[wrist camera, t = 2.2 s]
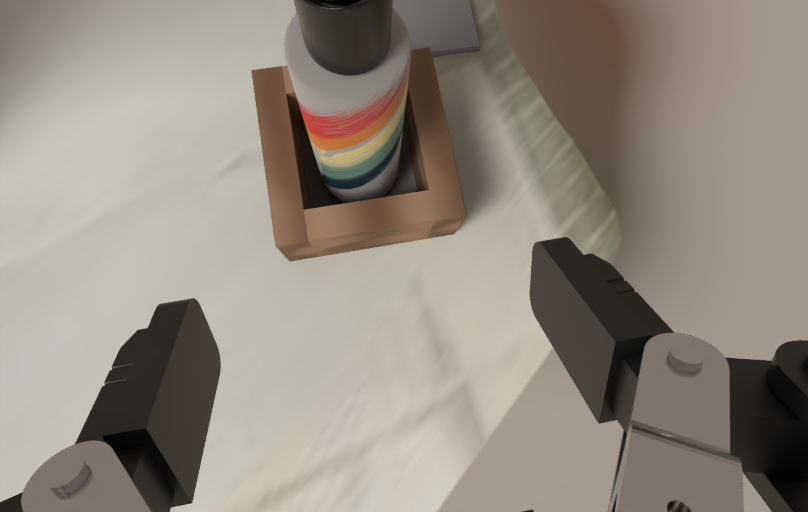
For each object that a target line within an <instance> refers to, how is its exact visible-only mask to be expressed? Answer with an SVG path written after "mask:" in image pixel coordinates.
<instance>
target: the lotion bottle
mask: <svg viewBox="0 0 808 512" xmlns="http://www.w3.org/2000/svg"><path fill="white" fill-rule="evenodd" d="M294 3H295V7H296V14H295V15H294V16H293V18H292V20H291V21H290V23H289V26H288V28H287V31H286V36H285V58H286V62H287V66H288V70H289V73H290V77H291V80H292V84H293V87H294V90H295V93H296V97H297V100H298V103H299V106H300V109H301V113H302V116H303V119H304V122H305V126H306V129H307V132H308V135H309V139H310V142H311V145H312V148H313V151H314V155H315V158H316V161H317V164H318V168H319V171H320V174H321V176H322V179H323V181H324V183H325V185H326V187H327V188H328V190H329V191H330V192H331V193H332V194H333V195H334V196H335V197H337V198H338V199H340V200H342V201H344V202H346V203H350V202H357V201H363V200H369V199H376V198H382V197H383V196H384V195H386V194H387V193H388V191H389V190H390V189H391V187H392V186H393V184H394V182H395V179H396V176H397V171H398V164H399V156H400V148H401V139H402V131H403V122H404V114H405V105H406V97H407V88H408V79H409V70H410V60H411V43H410V37H409V33H408V30H407V27H406V25H405V23H404V21H403V19H402V18H401V17H400V15H399V14H398V13H397V12H396V10H395V9H394V8H393V0H294Z"/></svg>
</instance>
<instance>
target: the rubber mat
mask: <svg viewBox="0 0 808 512" xmlns="http://www.w3.org/2000/svg"><path fill="white" fill-rule="evenodd" d="M393 8H394V9H395V10H396V12H397V13H398V14H399V15H400V17H401V18H402V19H403V21H404V23H405V25H406V27H407V30H408V33H409V37H410V43H411V49H419V48H426V47H430V49H431V54H432V56H439V55H446V54H454V53H461V52H469V51H476V50H479V47H480V44H479V39H478V35H477V31H476V27H475V22H474V18H473V14H472V10H471V6H470V1H469V0H393Z"/></svg>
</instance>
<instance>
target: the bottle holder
mask: <svg viewBox="0 0 808 512" xmlns="http://www.w3.org/2000/svg"><path fill="white" fill-rule="evenodd" d="M252 78H253V85H254V92H255V100H256V107H257V114H258V122H259V129H260V136H261V144H262V151H263V158H264V166H265V173H266V180H267V188H268V195H269V202H270V210H271V217H272V224H273V232H274V239H275V246H276V247H277V248H278V249H279V250H280V251H281V253H282V254H283V255H284V256H285V257H286V258H287V259H288V260H289V261H295V260H301V259H307V258H313V257H319V256H325V255H331V254H337V253H343V252H349V251H355V250H361V249H367V248H373V247H379V246H385V245H391V244H397V243H403V242H409V241H415V240H421V239H427V238H433V237H439V236H445V235H451V234H454V233H455V231H456V230H457V228H458V227H459V225H460V224H461V222H462V221H463V219H464V217H465V216H466V212H465V207H464V203H463V198H462V193H461V189H460V184H459V179H458V175H457V170H456V165H455V161H454V156H453V151H452V147H451V142H450V137H449V133H448V128H447V124H446V119H445V114H444V110H443V105H442V100H441V96H440V91H439V86H438V82H437V77H436V72H435V68H434V63H433V59H432V54H431V49H430V47H426V48H419V49H411V60H410V70H409V79H408V88H407V97H406V105H405V114H404V124H405V129H406V134H407V139H408V144H409V149H410V154H411V159H412V164H413V169H414V175H415V180H416V185H417V190H418V192H414V193H407V194H401V195H395V196H388V197H382V198H376V199H369V200H363V201H357V202H350V203H344V204H337V205H331V206H325V207H318V208H312V209H310V202H309V196H308V189H307V183H306V176H305V169H304V163H303V156H302V150H301V143H300V137H299V130H298V129H299V128H306V126H305V122H304V119H303V116H302V113H301V109H300V106H299V103H298V100H297V97H296V93H295V90H294V87H293V84H292V80H291V77H290V73H289V70H288V66H281V67H273V68H265V69H258V70H252Z"/></svg>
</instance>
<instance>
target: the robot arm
mask: <svg viewBox="0 0 808 512" xmlns="http://www.w3.org/2000/svg"><path fill="white" fill-rule="evenodd" d="M530 301H531V306H532V310H533V313H534V315H535V317H536V319H537V321H538V322H539V324H540V326H541V327H542V329H543V331H544V332H545V334H546V336H547V338H548V339H549V341H550V343H551V344H552V346H553V348H554V349H555V351H556V353H557V354H558V356H559V358H560V359H561V361H562V363H563V365H564V366H565V368H566V370H567V371H568V373H569V375H570V376H571V378H572V379H573V381H574V383H575V385H576V386H577V388H578V390H579V391H580V393H581V395H582V397H583V398H584V400H585V401H586V403H587V405H588V407H589V408H590V410H591V412H592V413H593V415H594V417H595V418H596V420H597V422H598V423H603V422H609V421H614V420H618V422H619V423H620V425H621V426H622V428H623V434H622V438H621V443H620V448H619V453H618V459H617V464H616V469H615V474H614V479H613V484H612V489H611V495H610V500H609V505H608V511H607V512H744V510H743V509H744V508H743V473H744V474H745V476H746V477H747V478H748V480H749V481H750V482H751V484H752V485H753V486H754V488H755V489H756V490H757V492H758V493H759V494H760V496H761V497H762V499H763V500H764V501H765V503H766V504H767V506H768V507H769V508H770V510H771V511H772V512H808V341H802V340H799V341H791V342H787V343H784V344H782V345H781V346H780V347H779V348H778V349H777V351H776V353H775V355H774V357H773V359H772V361H766V360H751V359H736V358H725V357H724V356H723V354H721V352H720V351H719V350H717V349H716V348H715V347H714V346H712V345H711V344H709V343H707V342H706V341H704V340H701V339H699V338H696V337H694V336H690V335H686V334H681V333H674V332H673V331H672V330H671V329H670V328H669V327H668V325H667V324H666V323H665V322H664V321H663V320H662V319H661V318H660V317H659V316H658V315H657V313H656V312H655V311H654V310H653V309H652V308H651V307H650V306H649V305H648V304H647V303H646V301H644V299H643V298H642V297H641V296H640V295H639V294H638V293H637V292H634V289H633V288H632V286H631V285H630V284H629V283H628V282H627V281H624V278H623V277H622V276H621V274H620V273H619V272H618V271H617V270H616V269H615V268H614V267H613V266H612V265H611V264H610V263H608V262H606V261H604V260H603V259H601V258H599V257H597V256H595V255H593V254H586V255H583V254H582V253H581V251H580V250H579V249H578V248H577V247H576V246H575V245H574V243H573V242H572V241H571V240H570V239H569V238H567V237H564V238H558V239H552V240H546V241H540V242H536V243H535V244H534V246H533V251H532V266H531V281H530ZM220 368H221V364H220V354H219V350H218V347H217V344H216V342H215V339H214V337H213V335H212V332H211V330H210V328H209V325H208V323H207V321H206V318H205V316H204V313H203V311H202V309H201V306H200V304H199V303H198V301H197V300H196V299H194V298H193V299H187V300H181V301H175V302H169V303H163V304H159V305H158V306H157V308H156V310H155V312H154V315H153V317H152V319H151V322H150V324H149V326H148V328H147V329H141V330H137V331H136V332H135V333H134V335H133V336H132V337H131V338H130V339H129V340H128V341H127V342H126V343H125V344H124V345H123V346H122V347H121V348H120V350H119V352H118V354H117V357H116V359H115V361H114V363H113V365H112V370H110V371H109V373H108V376H107V378H106V380H105V386H102V388H101V390H100V392H99V395H98V397H97V399H96V401H95V403H94V405H93V407H92V409H91V412H90V414H89V416H88V418H87V420H86V422H85V424H84V426H83V428H82V431H81V433H80V435H79V437H78V439H77V441H76V443H75V445H72V446H70V447H68V448H66V449H64V450H62V451H60V452H58V453H57V454H55V455H54V456H53V457H51V458H50V459H49V460H47V461H46V462H45V463H44V464H43V465H42V466H41V467H40V468H39V469H38V470H37V471H36V472H35V473H34V474H33V475H32V477H31V478H30V480H29V481H28V483H27V484H26V486H25V488H24V491H23V492H22V493H20V494H18V495H16V496H13V497H11V498H9V499H7V500H4V501H2V502H0V512H170V509H171V507H175V506H180V505H185V504H190V503H192V501H193V497H194V492H195V487H196V483H197V478H198V473H199V469H200V464H201V459H202V455H203V450H204V446H205V441H206V436H207V432H208V427H209V422H210V418H211V413H212V408H213V404H214V399H215V394H216V390H217V385H218V380H219V376H220ZM742 472H743V473H742ZM524 512H534V511H533V510H528V511H524Z"/></svg>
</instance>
